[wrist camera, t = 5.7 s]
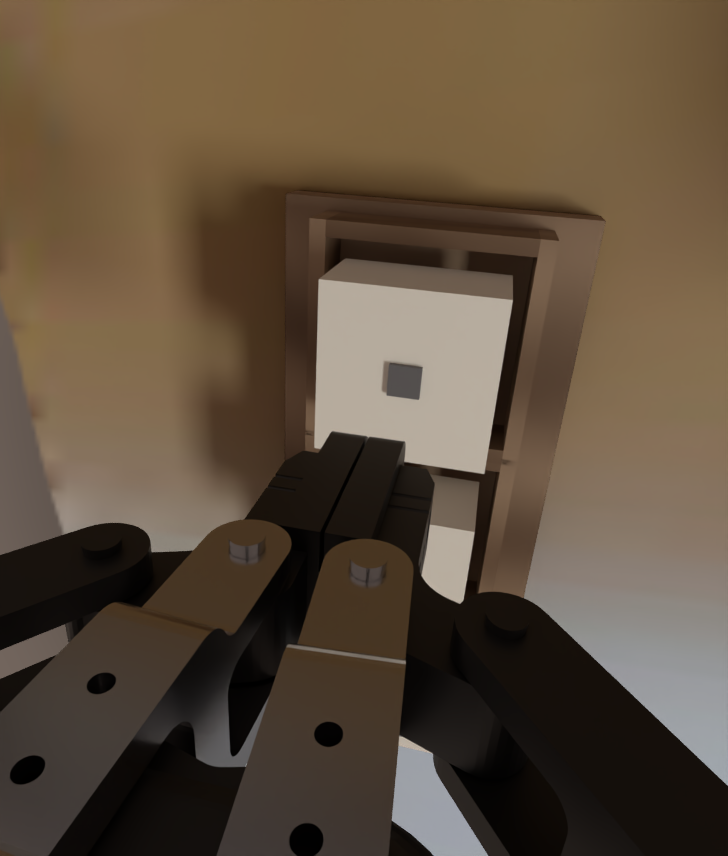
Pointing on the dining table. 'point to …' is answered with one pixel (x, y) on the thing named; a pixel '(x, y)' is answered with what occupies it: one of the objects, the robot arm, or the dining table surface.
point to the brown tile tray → (524, 351)
